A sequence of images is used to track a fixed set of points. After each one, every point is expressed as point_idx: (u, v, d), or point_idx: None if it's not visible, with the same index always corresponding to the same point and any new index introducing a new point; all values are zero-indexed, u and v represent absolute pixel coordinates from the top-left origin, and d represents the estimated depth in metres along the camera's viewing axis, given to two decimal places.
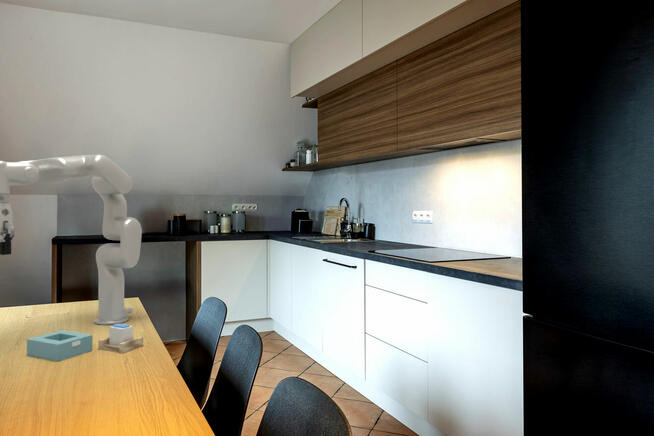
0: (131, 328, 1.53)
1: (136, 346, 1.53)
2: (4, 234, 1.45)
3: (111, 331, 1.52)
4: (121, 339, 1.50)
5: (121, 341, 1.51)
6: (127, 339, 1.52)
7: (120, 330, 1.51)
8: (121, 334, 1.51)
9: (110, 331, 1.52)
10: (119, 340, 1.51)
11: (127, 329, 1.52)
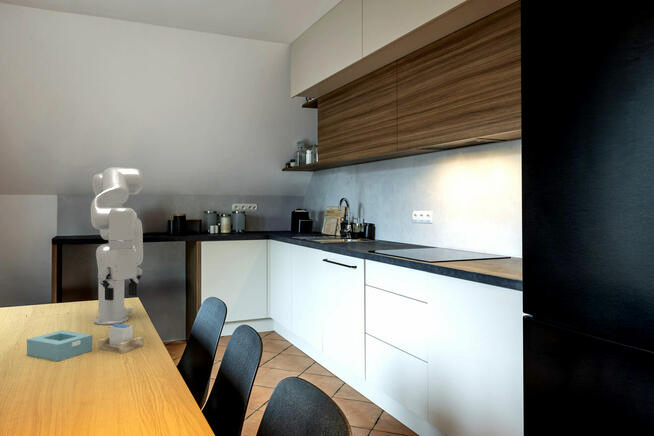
0: (131, 328, 1.53)
1: (136, 346, 1.53)
2: None
3: (111, 331, 1.52)
4: (121, 339, 1.50)
5: (121, 341, 1.51)
6: (127, 339, 1.52)
7: (120, 330, 1.51)
8: (121, 334, 1.51)
9: (110, 331, 1.52)
10: (119, 340, 1.51)
11: (127, 329, 1.52)
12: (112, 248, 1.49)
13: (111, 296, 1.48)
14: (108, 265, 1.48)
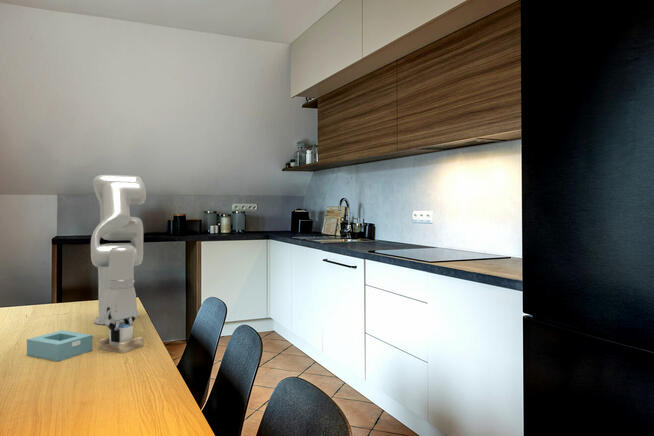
0: (131, 328, 1.53)
1: (136, 346, 1.53)
2: None
3: None
4: (121, 339, 1.51)
5: (121, 341, 1.51)
6: (127, 339, 1.52)
7: (120, 330, 1.51)
8: (120, 334, 1.51)
9: (110, 331, 1.52)
10: None
11: (127, 329, 1.52)
12: (112, 288, 1.50)
13: (117, 338, 1.50)
14: (108, 305, 1.49)
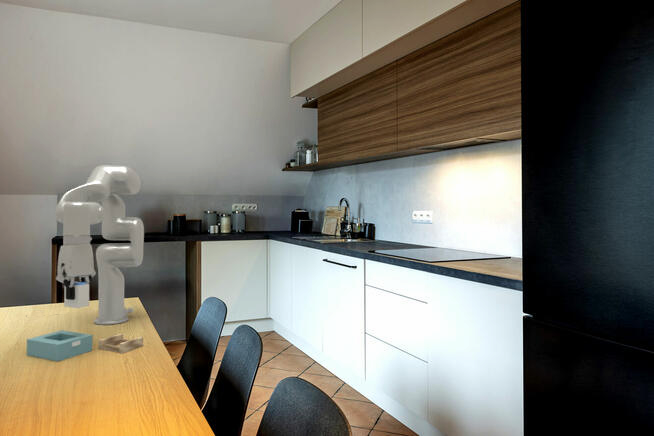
0: (87, 286, 1.49)
1: (136, 346, 1.53)
2: None
3: None
4: (77, 296, 1.46)
5: (76, 298, 1.46)
6: (83, 297, 1.47)
7: (75, 287, 1.46)
8: (76, 292, 1.46)
9: (65, 289, 1.48)
10: None
11: (83, 286, 1.47)
12: (66, 243, 1.45)
13: (72, 295, 1.46)
14: (62, 261, 1.44)
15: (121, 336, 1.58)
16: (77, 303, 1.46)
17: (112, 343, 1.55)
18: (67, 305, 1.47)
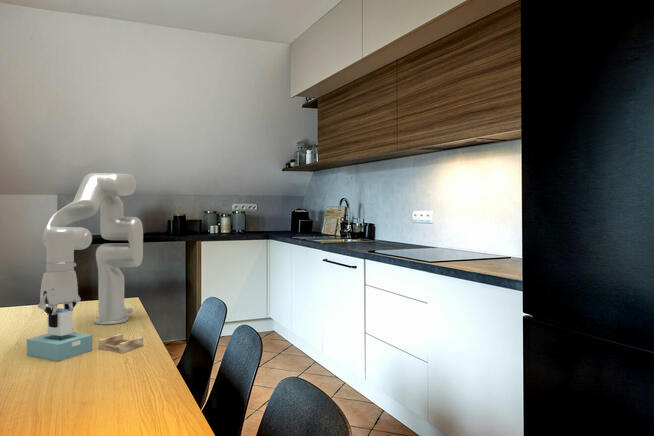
0: (70, 313, 1.47)
1: (136, 346, 1.53)
2: None
3: None
4: (59, 324, 1.44)
5: (59, 326, 1.44)
6: (66, 324, 1.46)
7: (58, 315, 1.45)
8: (58, 319, 1.44)
9: (48, 316, 1.46)
10: None
11: (66, 314, 1.46)
12: (49, 271, 1.44)
13: (55, 323, 1.44)
14: (44, 289, 1.42)
15: (121, 336, 1.58)
16: (59, 331, 1.44)
17: (112, 343, 1.55)
18: (50, 332, 1.46)
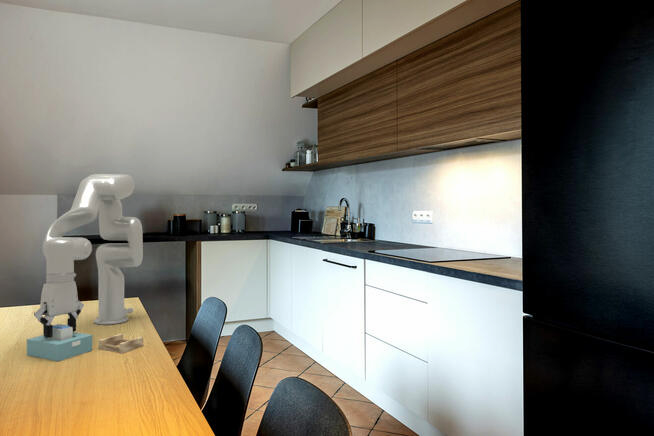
0: (71, 329, 1.48)
1: (136, 346, 1.53)
2: None
3: None
4: None
5: None
6: None
7: (58, 331, 1.45)
8: (59, 336, 1.45)
9: None
10: None
11: (66, 330, 1.46)
12: (49, 282, 1.44)
13: (50, 333, 1.43)
14: (44, 300, 1.43)
15: (121, 336, 1.58)
16: None
17: (112, 343, 1.55)
18: None
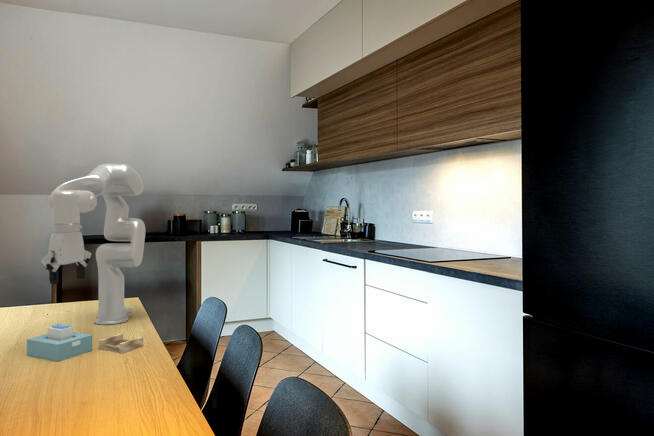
0: (71, 329, 1.48)
1: (136, 346, 1.53)
2: None
3: (49, 332, 1.46)
4: None
5: None
6: None
7: (58, 331, 1.45)
8: (59, 336, 1.45)
9: (48, 332, 1.47)
10: None
11: (66, 330, 1.46)
12: (56, 232, 1.48)
13: (56, 280, 1.47)
14: (52, 249, 1.47)
15: (121, 336, 1.58)
16: None
17: (112, 343, 1.55)
18: None
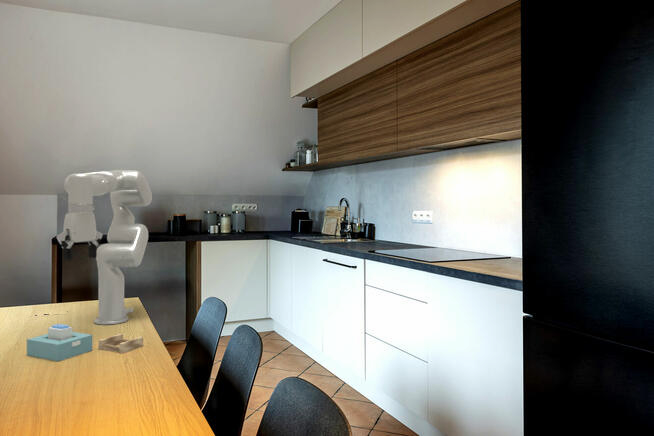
0: (71, 329, 1.48)
1: (136, 346, 1.53)
2: None
3: (49, 332, 1.46)
4: None
5: None
6: None
7: (58, 331, 1.45)
8: (59, 336, 1.45)
9: (48, 332, 1.47)
10: None
11: (66, 330, 1.46)
12: (71, 211, 1.58)
13: (70, 256, 1.56)
14: (67, 227, 1.57)
15: (121, 336, 1.58)
16: None
17: (112, 343, 1.55)
18: None
